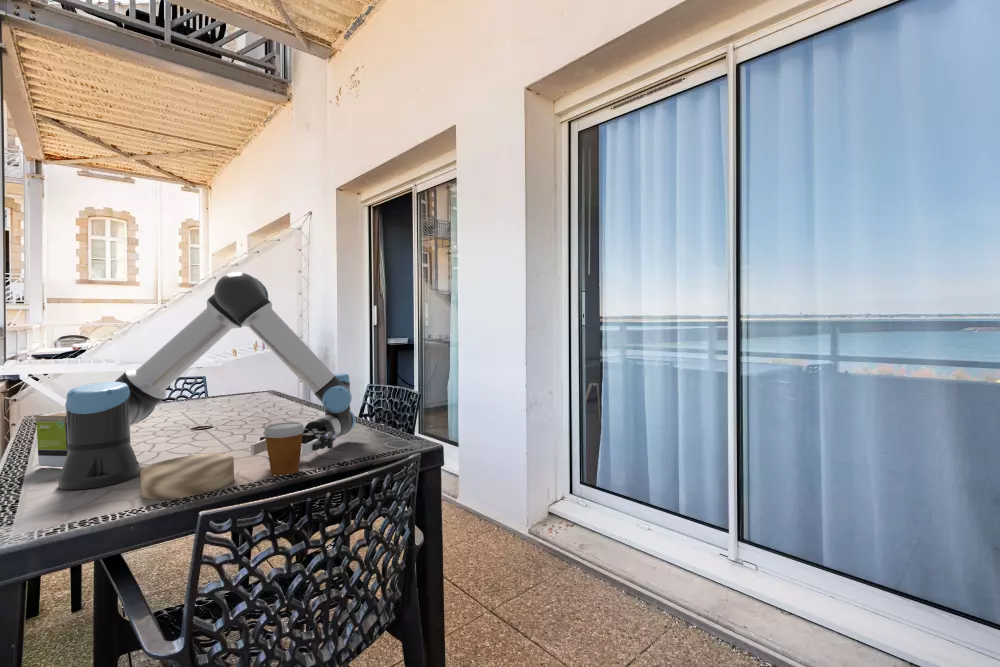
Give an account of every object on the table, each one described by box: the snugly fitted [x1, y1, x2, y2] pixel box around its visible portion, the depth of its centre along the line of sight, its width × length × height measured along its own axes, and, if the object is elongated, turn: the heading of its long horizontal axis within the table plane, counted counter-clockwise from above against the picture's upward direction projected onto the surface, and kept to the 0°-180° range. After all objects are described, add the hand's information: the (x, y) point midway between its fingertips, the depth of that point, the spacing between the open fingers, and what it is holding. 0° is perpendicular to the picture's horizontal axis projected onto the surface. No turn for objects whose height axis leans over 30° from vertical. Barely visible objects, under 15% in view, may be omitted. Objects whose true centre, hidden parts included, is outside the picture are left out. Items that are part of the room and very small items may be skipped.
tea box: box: [35, 409, 68, 467], centre depth 130 cm, size 15×10×15 cm
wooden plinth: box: [139, 453, 235, 501], centre depth 107 cm, size 18×18×5 cm
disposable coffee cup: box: [262, 421, 305, 477], centre depth 116 cm, size 10×10×12 cm
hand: (277, 450), depth 113 cm, fingers open, 13 cm apart
